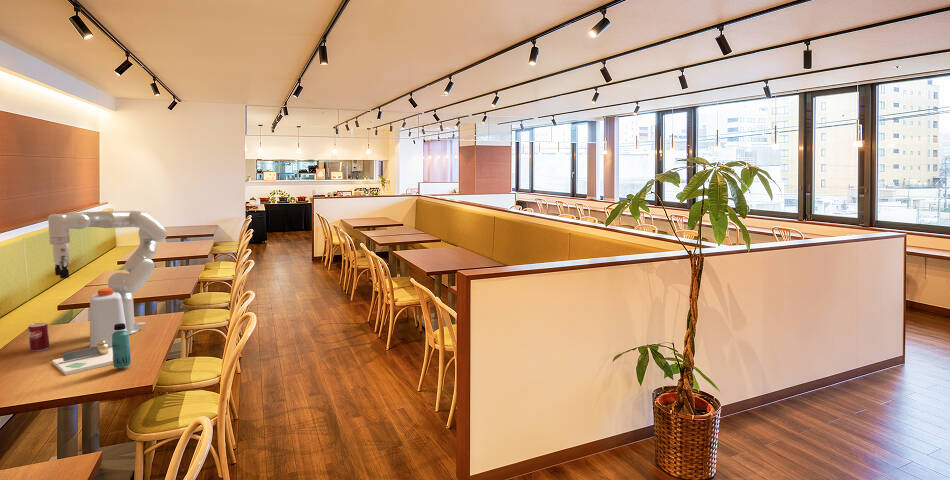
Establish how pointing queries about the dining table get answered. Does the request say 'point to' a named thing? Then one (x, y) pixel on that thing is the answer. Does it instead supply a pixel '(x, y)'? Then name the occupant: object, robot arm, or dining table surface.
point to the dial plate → (84, 363)
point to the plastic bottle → (105, 316)
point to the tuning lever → (87, 351)
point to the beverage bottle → (121, 347)
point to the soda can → (38, 336)
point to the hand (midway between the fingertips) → (62, 276)
